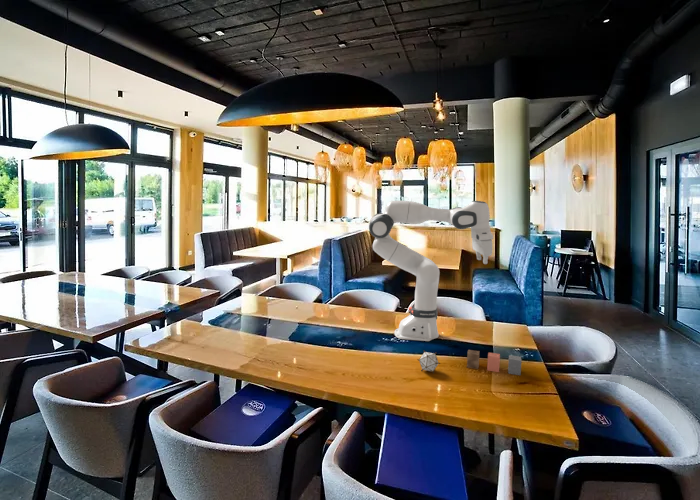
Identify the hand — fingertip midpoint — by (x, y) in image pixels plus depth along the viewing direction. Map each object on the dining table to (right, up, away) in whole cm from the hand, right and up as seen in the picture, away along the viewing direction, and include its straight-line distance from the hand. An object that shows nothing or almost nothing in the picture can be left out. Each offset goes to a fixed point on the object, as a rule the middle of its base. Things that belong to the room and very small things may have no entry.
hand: (482, 261), depth 193 cm
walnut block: (-14, -43, -29) cm, 54 cm away
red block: (-6, -43, -32) cm, 54 cm away
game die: (-33, -43, -35) cm, 65 cm away
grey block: (+1, -44, -35) cm, 56 cm away
